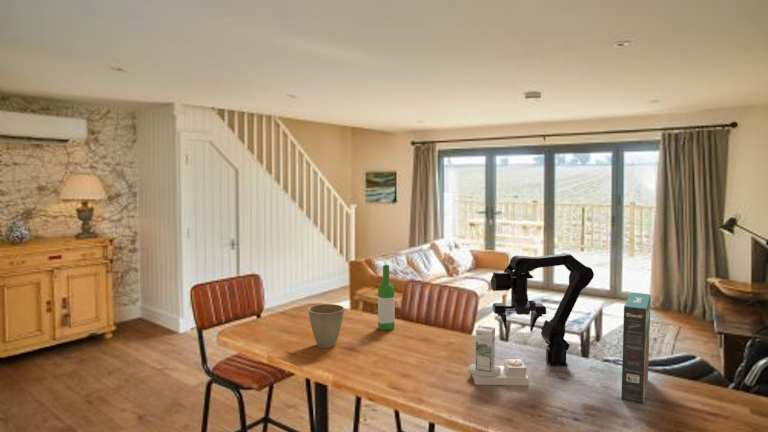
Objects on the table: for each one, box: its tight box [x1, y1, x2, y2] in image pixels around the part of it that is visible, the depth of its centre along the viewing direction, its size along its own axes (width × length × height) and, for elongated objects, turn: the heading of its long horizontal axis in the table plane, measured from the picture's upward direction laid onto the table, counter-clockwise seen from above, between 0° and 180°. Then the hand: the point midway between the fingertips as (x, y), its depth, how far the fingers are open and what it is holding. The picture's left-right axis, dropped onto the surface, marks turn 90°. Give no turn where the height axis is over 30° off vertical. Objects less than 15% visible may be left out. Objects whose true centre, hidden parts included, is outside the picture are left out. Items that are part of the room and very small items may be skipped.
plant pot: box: [307, 303, 345, 349], centre depth 207 cm, size 15×15×16 cm
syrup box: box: [475, 325, 496, 372], centre depth 171 cm, size 6×6×14 cm
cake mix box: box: [621, 292, 652, 405], centre depth 161 cm, size 22×6×30 cm, turn 148°
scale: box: [468, 358, 530, 386], centre depth 171 cm, size 20×11×6 cm, turn 87°
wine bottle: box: [377, 264, 396, 331], centre depth 230 cm, size 8×8×30 cm
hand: (518, 331), depth 183 cm, fingers open, 9 cm apart
